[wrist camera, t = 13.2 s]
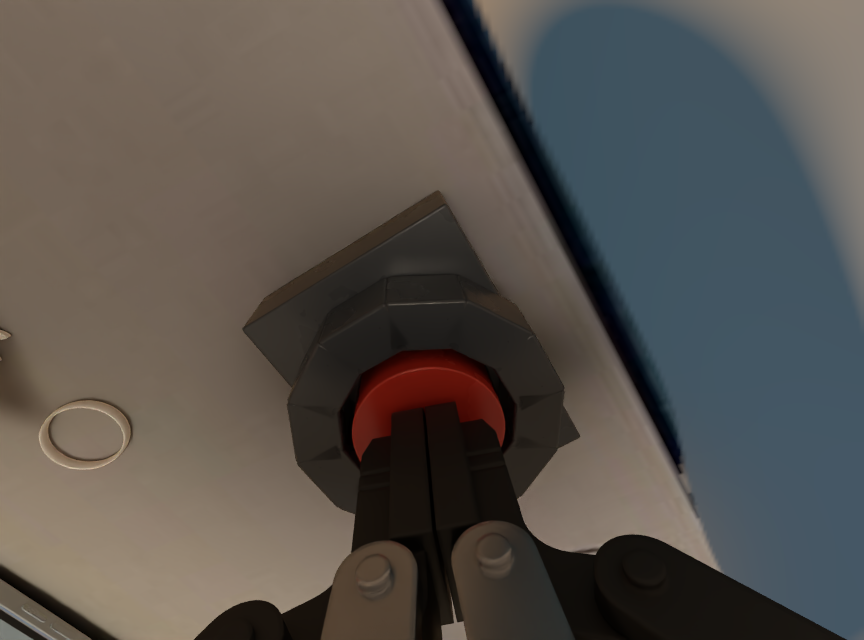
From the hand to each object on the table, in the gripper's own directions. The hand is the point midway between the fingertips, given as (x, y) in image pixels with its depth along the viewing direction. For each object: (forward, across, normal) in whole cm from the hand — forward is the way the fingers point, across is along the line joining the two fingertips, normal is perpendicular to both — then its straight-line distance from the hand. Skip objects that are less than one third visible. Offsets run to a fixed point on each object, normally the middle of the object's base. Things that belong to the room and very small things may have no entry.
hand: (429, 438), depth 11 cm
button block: (+4, 0, 0) cm, 4 cm away
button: (+2, 0, 0) cm, 2 cm away
